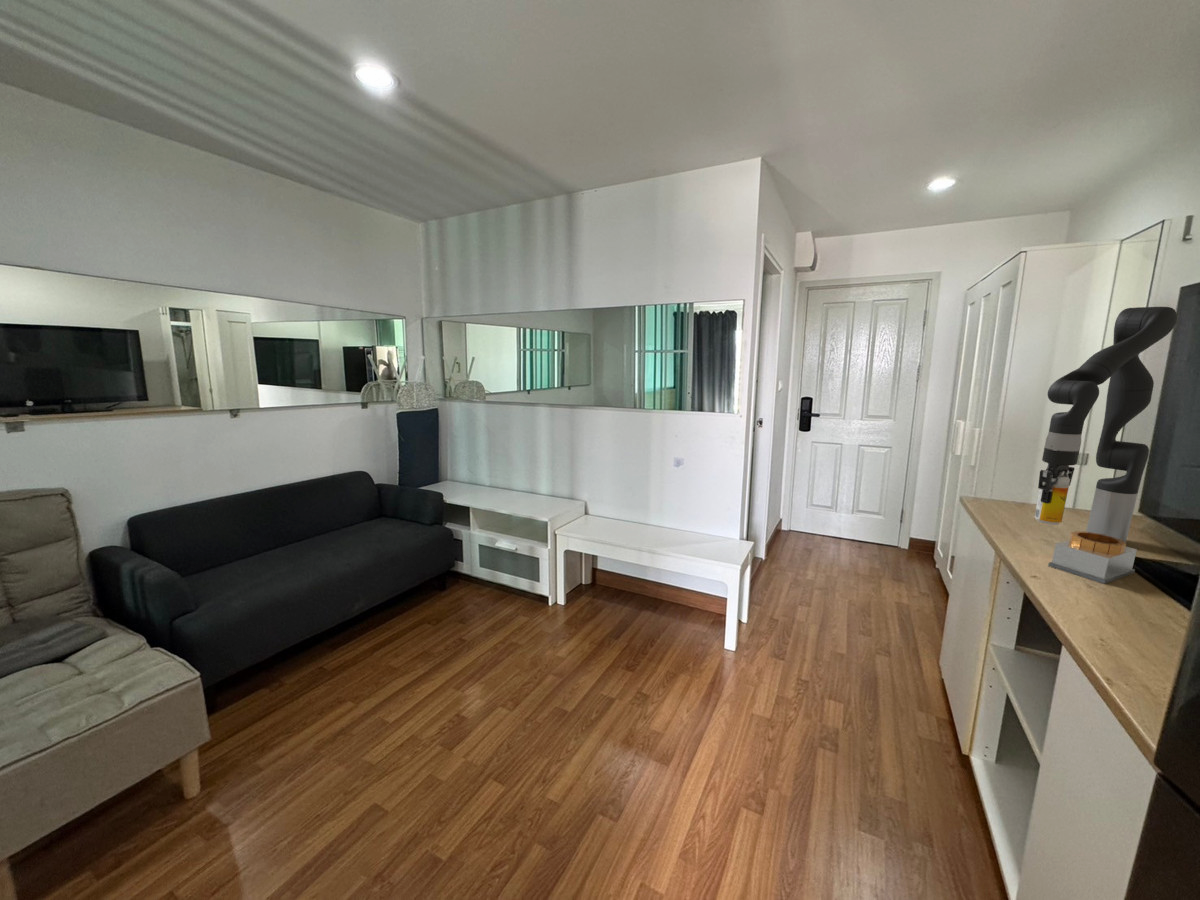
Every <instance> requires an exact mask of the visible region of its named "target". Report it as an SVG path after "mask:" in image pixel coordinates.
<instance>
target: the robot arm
mask: <svg viewBox="0 0 1200 900" xmlns="http://www.w3.org/2000/svg"><path fill="white" fill-rule="evenodd" d="M1177 321H1178V314H1177V311H1176V309H1175V308H1173V307H1170V306H1144V307H1143V306H1142V307H1139V306H1138V307H1137V306H1136V307H1126V308H1125V309H1122V311H1120V312H1119V313H1118V315H1117V317H1116V319H1115V322H1114V326H1113V344H1112V345H1110V346H1108V347H1105V348H1103V349H1101V350H1099V351H1097V352H1095V353H1094V354H1093V355H1092V356H1090V357H1089V358H1087V360H1086V361H1085V362H1084V363H1082V364H1081V365H1080V366H1079V367H1078V368H1076V369H1074V370H1072V371H1070V372H1069V373H1067V374H1065V375H1063V376H1061V377H1059V378H1058V379H1057V380H1055V381H1054V382H1053V383H1052V384H1051V385H1050V386H1049V388H1048V390H1047V398H1048V400H1049V401H1050V402H1052V403H1054V404H1060V405H1071V406H1072V407H1071V408H1070V409H1069V410H1068V411H1063V412H1056V413H1053V414H1052V415H1051V417H1050V422H1049V423H1050V424H1049V428H1048V432H1047V434H1046V437H1045V442H1044V448H1043V453H1042V459H1041V461H1042V462H1044V463H1046V464H1048V465H1047V467H1046V468H1045V470H1044V469H1041V470H1040V471H1039V475H1038V476H1039V478H1038V479H1039V480H1038V486H1037V487H1038V489H1039V490H1040V489H1041V490H1042V496H1041V502H1043V503H1051V499H1052V494H1053V490H1054V488H1055V485H1058V481H1059V479H1060V477H1063V476H1066V477H1067V476H1069V479H1070V483H1069V487H1070V486H1071V482H1072V480H1073V475H1074V471H1075V470H1076V469H1075V466H1076V465H1077V463H1078V460H1079V455H1080V451H1081V446H1082V433H1083V429H1084V424H1085V420H1086V418H1087V417H1088V415H1089V413H1090V412H1091V410H1092V408H1093V407H1094V405H1095V404H1096V402H1097V400H1098V398H1099V395H1100V388H1099V386H1100V385H1102V384H1104V383H1105V382H1106V381H1108V380H1109V382H1108V388H1107V392H1106V393H1107V394H1106V402H1105V411H1104V418H1103V425H1102V429H1101V432H1100V433H1101V434H1100V438H1099V440H1098V445H1097V449H1096V453H1095V454H1096V455H1095V462H1096V465H1097V466H1098V467H1099V468H1104V469H1109V470H1110V469H1111V470H1119V471H1123V472H1124V471H1125V472H1126V473H1125V474H1124V475H1121V476H1117V477H1107V478H1100V479H1098V480H1097V482H1096V486H1095V490H1094V495H1093V499H1092V504H1091V509H1090V513H1089V517H1088V522H1087V526H1086V531H1085V532H1092V533H1098V534H1103V535H1107V536H1111V537H1114V538H1117V539H1120V540H1122V541H1124V542H1125V543H1126V544H1127V539H1128V536H1129V531H1130V526H1131V522H1132V519H1133V515H1134V510H1135V506H1136V502H1137V497H1138V493H1139V489H1140V485H1141V481H1142V478H1143V474H1144V471H1145V468H1146V465H1147V463H1148V462H1147V461H1148V458H1149V454H1150V449H1149V447H1148V445H1146V444H1145V443H1139V442H1128V441H1119V440H1116V439H1117V436H1118V434H1119V432H1120V431H1121V430H1122V429H1123V428H1124V427H1125V426H1126V425H1127V424H1128V423H1129V422H1130V421H1132V420H1133V419H1134V418H1135V417H1137V416H1138V415H1140V414H1141V413H1142V412H1143V411H1144V410H1145V409H1147V407H1148V406H1149V405H1150V403H1151V400H1152V396H1153V390H1154V384H1155V383H1154V379H1153V375H1151V373H1150V372H1149V370H1148V368H1147V367H1146V366H1145V365H1144V363H1143V362H1142V361H1141V359H1140V357H1139V354H1141V353H1142V352H1144V351H1146V350H1148V348H1150V347H1152V346H1153V345H1155V344H1156V343H1158V342H1159V341H1161V340H1162V339H1164V338H1165V337H1166V336H1168V335H1169V334H1170V333H1171V332H1172V330H1173V329H1175V328H1174V327H1175V326H1176V324H1177ZM1052 478H1054V479H1055V478H1056V480H1055V481H1052ZM1043 482H1044V483H1043ZM1046 484H1047V486H1046ZM1051 484H1052V485H1051Z"/></svg>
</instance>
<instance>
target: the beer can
mask: <svg viewBox="0 0 1200 900" xmlns="http://www.w3.org/2000/svg"><path fill="white" fill-rule="evenodd" d="M1055 480H1056V478H1055V479H1054V478H1052V481H1055ZM1043 483H1044V482H1043ZM1069 483H1070V479H1069V476H1067V477H1066V476H1063V477H1060V479H1059V481H1058V485H1055V488H1054V490H1053V494H1052V499H1051V503H1043V502H1041V496H1042V490H1041V489H1039V491H1038V496H1037V502H1036V508H1035V513H1034V518H1035V520H1036V521H1037V522H1039V523H1042V524H1047V525H1054V526H1055V525H1059V524H1061V523H1062V522H1063V517H1064V512H1065V507H1066V504H1067V503H1066V502H1067V498H1068V497H1067V496H1068V493H1069V487H1070V486H1069ZM1070 484H1071V483H1070ZM1051 485H1052V484H1051ZM1046 486H1047V484H1046Z"/></svg>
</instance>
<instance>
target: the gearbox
mask: <svg viewBox="0 0 1200 900" xmlns="http://www.w3.org/2000/svg"><path fill="white" fill-rule="evenodd" d="M1137 551H1138V550H1137V548H1133V547H1130V546H1129V547H1128V546H1127V542H1126V543H1125V542H1124V541H1122V540H1120V539H1117V538H1114V537H1111V536H1107V535H1103V534H1098V533H1092V532H1086V531H1080V530H1077V531H1076V530H1075V531H1072V532H1070V535H1069V539H1067V540H1064V541H1060V542H1056V543H1055V545H1054V550H1053V556H1052V560H1051V562H1048V565H1047V566H1048V567H1050V566H1051V567H1050V568H1053V567H1054V569H1056V568H1057V570H1059V569H1060V571H1062V570H1063V572H1065V573H1068V574H1071V575H1075V576H1078V577H1082V578H1084V579H1087V580H1090V579H1091V581H1094V582H1097V583H1100V584H1104V585H1106V584H1108V583H1110V582H1113V581H1115V580H1119V579H1121V578H1123V577H1126V576H1129V575H1132V574H1135V572H1136V569H1135V568H1133V567H1134V563H1135V558H1136V555H1137Z"/></svg>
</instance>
